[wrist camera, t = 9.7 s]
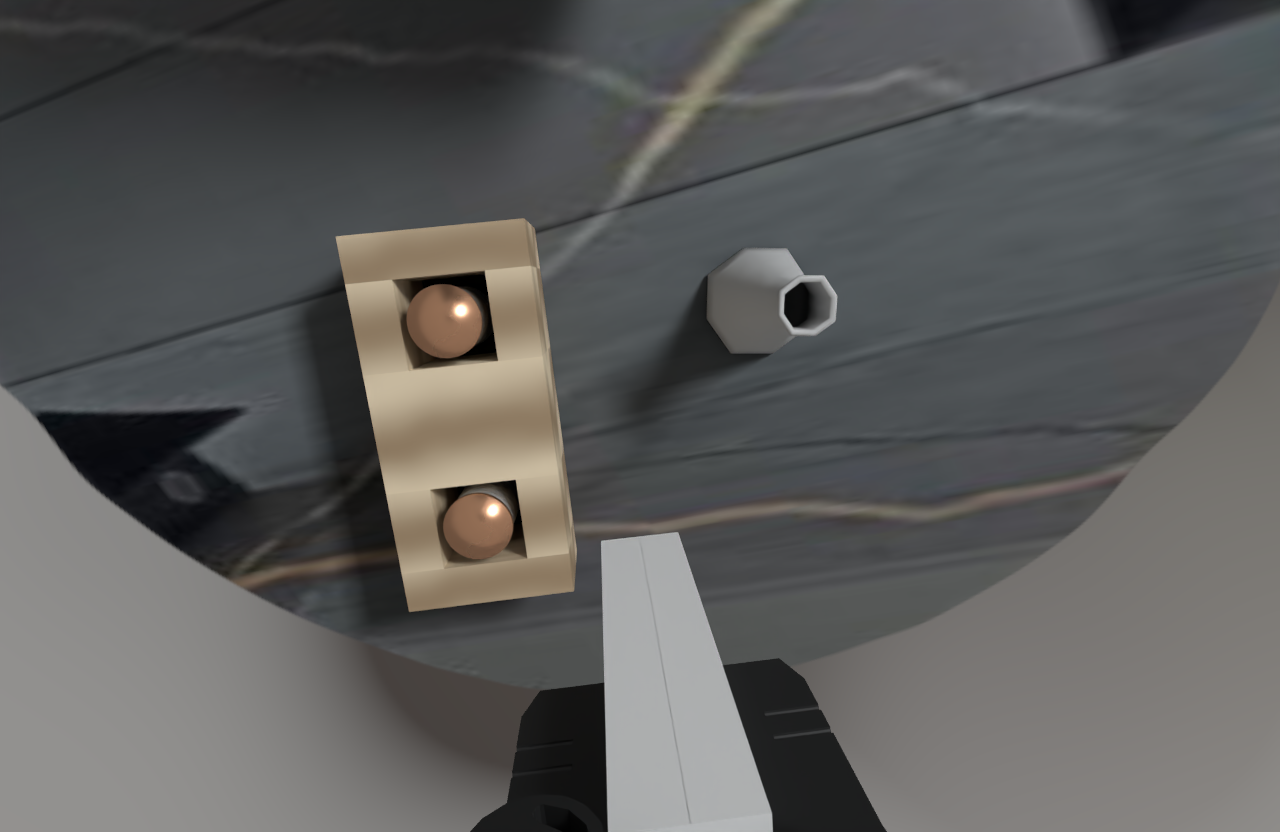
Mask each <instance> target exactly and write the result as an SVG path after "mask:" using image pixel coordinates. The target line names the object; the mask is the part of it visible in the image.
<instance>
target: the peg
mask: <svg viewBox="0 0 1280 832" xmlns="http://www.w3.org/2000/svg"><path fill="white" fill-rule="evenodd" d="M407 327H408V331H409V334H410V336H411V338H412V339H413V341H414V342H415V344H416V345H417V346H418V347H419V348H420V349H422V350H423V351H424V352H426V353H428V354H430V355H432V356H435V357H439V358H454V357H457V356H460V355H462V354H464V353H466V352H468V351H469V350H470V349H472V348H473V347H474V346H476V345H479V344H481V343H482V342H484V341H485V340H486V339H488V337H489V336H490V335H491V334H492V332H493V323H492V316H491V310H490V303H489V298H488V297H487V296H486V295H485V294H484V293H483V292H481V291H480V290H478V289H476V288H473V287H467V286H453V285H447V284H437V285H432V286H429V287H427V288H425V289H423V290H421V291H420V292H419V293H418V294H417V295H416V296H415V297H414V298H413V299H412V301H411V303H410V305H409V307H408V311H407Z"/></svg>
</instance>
